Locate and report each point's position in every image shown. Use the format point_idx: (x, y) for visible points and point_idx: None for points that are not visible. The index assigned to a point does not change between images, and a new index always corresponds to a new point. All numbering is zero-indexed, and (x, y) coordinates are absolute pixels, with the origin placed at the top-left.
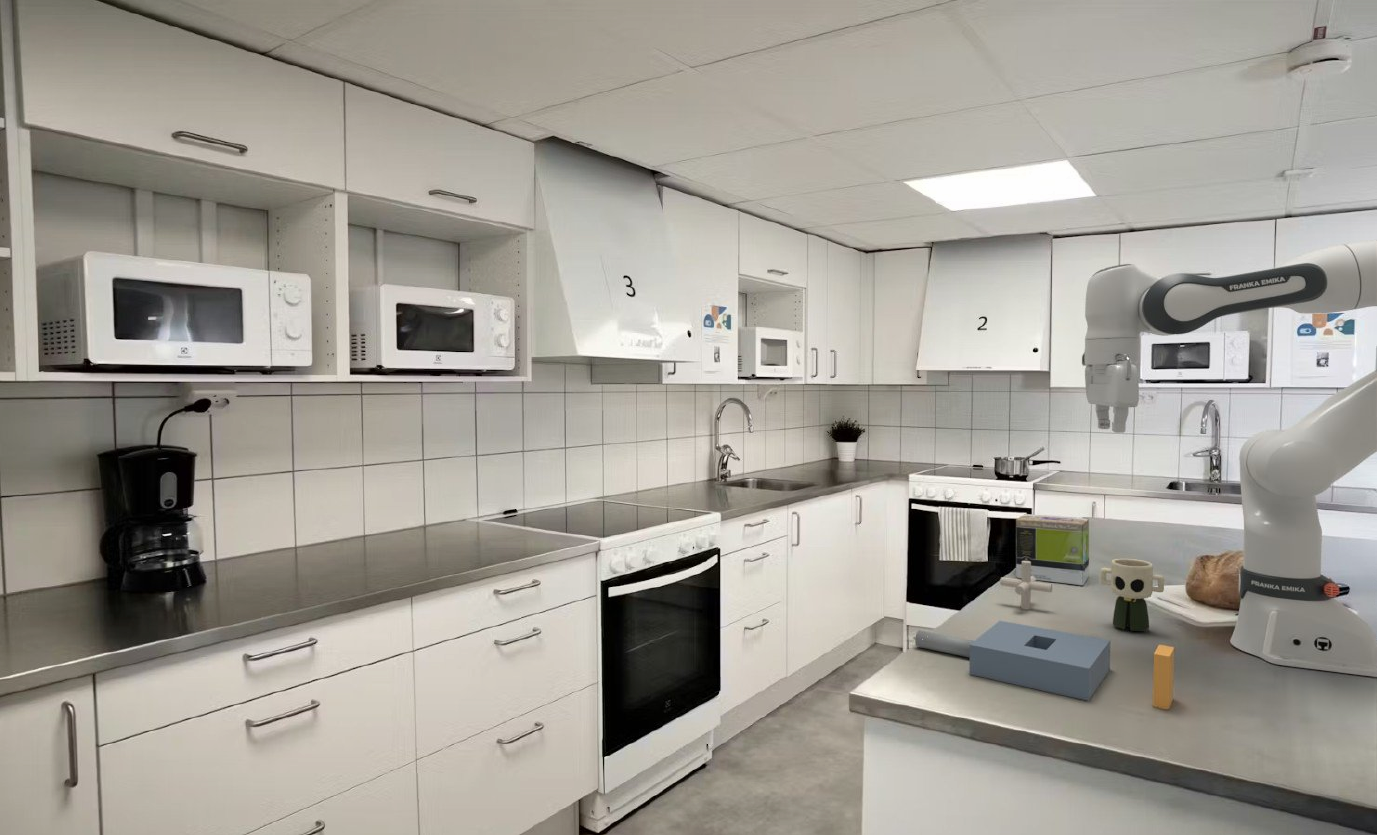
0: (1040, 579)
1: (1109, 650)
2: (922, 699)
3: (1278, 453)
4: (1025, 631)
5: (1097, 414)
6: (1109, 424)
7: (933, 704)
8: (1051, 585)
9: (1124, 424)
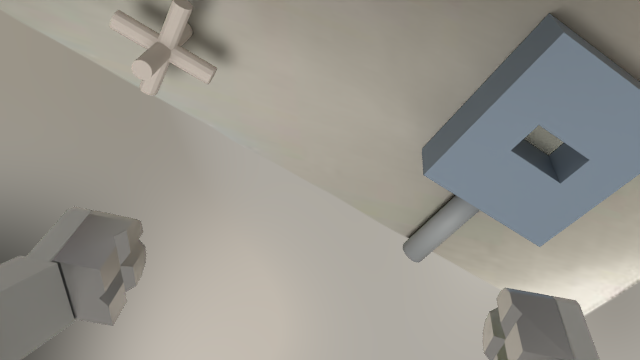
0: None
1: (563, 29)
2: (600, 281)
3: None
4: (488, 157)
5: (23, 356)
6: (114, 238)
7: (618, 275)
8: (178, 4)
9: (591, 355)
